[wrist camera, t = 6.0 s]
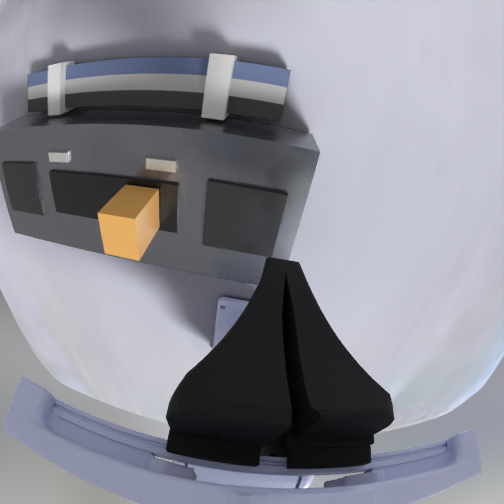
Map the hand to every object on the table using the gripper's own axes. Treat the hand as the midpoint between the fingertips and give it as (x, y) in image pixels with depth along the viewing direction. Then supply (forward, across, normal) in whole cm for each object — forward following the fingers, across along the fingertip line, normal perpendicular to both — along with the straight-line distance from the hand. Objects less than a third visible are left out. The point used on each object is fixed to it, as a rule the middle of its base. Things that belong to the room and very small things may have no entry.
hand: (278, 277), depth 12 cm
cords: (+8, +10, -6) cm, 14 cm away
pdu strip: (+8, +10, 0) cm, 13 cm away
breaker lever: (+4, +7, 0) cm, 8 cm away
